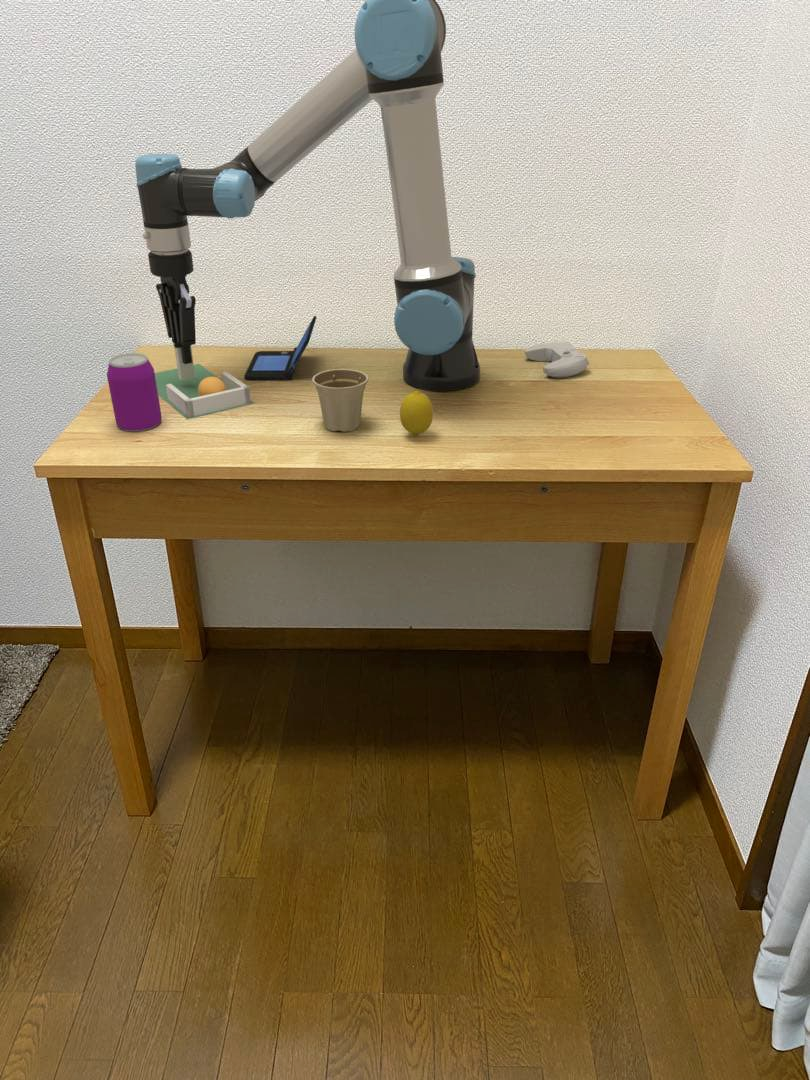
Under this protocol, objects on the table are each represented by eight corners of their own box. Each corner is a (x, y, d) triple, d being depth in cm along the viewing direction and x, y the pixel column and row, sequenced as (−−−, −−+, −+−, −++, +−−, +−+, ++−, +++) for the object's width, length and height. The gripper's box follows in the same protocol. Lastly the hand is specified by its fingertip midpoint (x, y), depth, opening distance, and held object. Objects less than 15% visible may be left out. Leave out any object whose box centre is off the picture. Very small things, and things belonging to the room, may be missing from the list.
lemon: (433, 429, 146) (434, 385, 142) (431, 443, 141) (432, 397, 137) (401, 428, 146) (401, 384, 142) (398, 442, 142) (398, 396, 137)
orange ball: (234, 396, 153) (225, 371, 154) (209, 399, 150) (200, 373, 151) (223, 407, 157) (215, 381, 158) (198, 410, 154) (190, 384, 155)
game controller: (520, 344, 176) (564, 330, 177) (522, 364, 179) (567, 350, 179) (546, 367, 164) (594, 352, 165) (549, 388, 167) (596, 373, 167)
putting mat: (254, 405, 156) (254, 403, 155) (187, 421, 149) (187, 419, 149) (199, 365, 174) (198, 363, 174) (137, 378, 168) (136, 376, 167)
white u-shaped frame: (251, 403, 155) (249, 387, 154) (188, 417, 150) (186, 401, 148) (228, 386, 163) (226, 371, 161) (168, 400, 157) (165, 384, 155)
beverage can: (115, 420, 150) (102, 354, 144) (160, 414, 152) (149, 349, 146) (118, 437, 144) (105, 369, 137) (165, 430, 146) (154, 363, 140)
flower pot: (333, 411, 153) (331, 365, 149) (379, 420, 149) (378, 373, 145) (304, 430, 146) (301, 382, 141) (351, 440, 142) (350, 391, 138)
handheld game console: (256, 357, 179) (252, 313, 174) (319, 357, 179) (317, 313, 174) (243, 384, 166) (238, 337, 161) (312, 384, 166) (309, 337, 161)
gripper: (135, 246, 153) (155, 372, 165) (162, 260, 143) (181, 392, 156) (175, 241, 156) (192, 364, 168) (204, 254, 147) (219, 384, 159)
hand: (187, 377), depth 162 cm, fingers closed
